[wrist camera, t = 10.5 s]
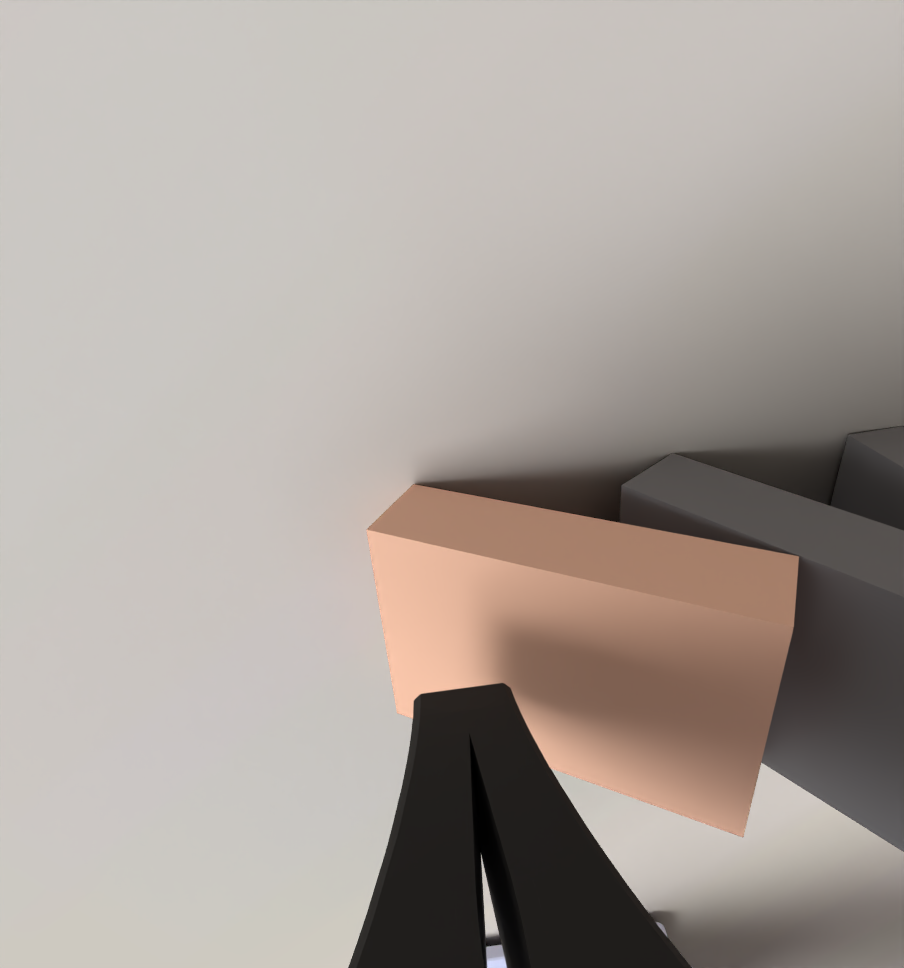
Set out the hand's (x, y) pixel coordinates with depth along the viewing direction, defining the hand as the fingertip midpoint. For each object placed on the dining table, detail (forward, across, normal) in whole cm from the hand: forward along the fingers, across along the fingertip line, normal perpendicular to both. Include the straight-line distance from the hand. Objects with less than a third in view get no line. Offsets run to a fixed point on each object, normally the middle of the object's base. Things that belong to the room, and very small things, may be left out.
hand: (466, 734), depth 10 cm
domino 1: (+3, +1, 0) cm, 3 cm away
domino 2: (+3, -4, 0) cm, 5 cm away
